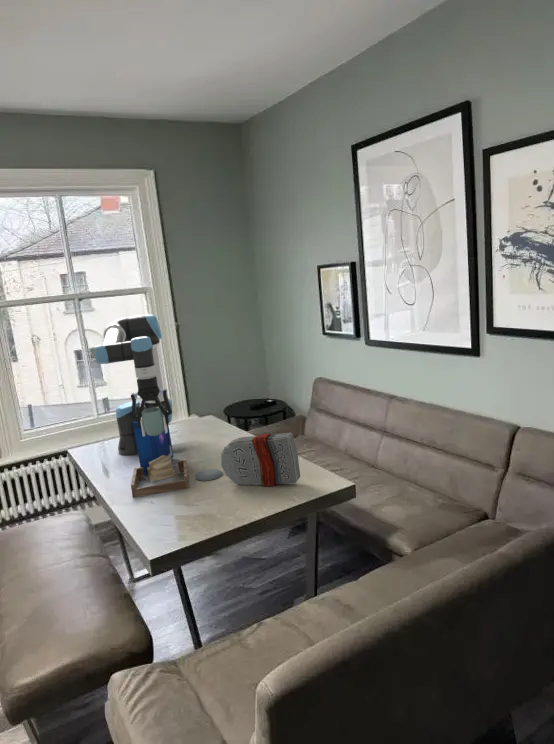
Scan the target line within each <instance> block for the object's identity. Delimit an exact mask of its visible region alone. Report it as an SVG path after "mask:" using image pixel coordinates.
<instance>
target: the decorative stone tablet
mask: <svg viewBox="0 0 554 744" xmlns="http://www.w3.org/2000/svg"><path fill="white" fill-rule="evenodd" d="M295 442H296V441H295V438H294V434H293V433H292V432H285V433H275V434H272V433H262V434H261V433H260V434H258V435H257V434H256V435H253V436H241V437H238V438H234V439H232V440H231V441H230V442H229V443H228V444H227V445H226V446H224V448H223V450H222V452H221V454H220V455H221V456H220V466H221V468H222V471H223V472H224V474H225V476H226V477H227V478H228V479H229V480H230V481H232V482H233V483H234V484H236V485H237V484H238V485H242V486H246V487H249V486H263V487H270V486H272V487H273V486H275V485H276V486H277V485H282V484H283V485H284V484H296V483H297V482H298V481H299V479H300V478H301V470H300V461H299V455H298V451H297V445H296V443H295ZM276 486H275V487H276Z"/></svg>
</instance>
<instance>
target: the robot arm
mask: <svg viewBox="0 0 554 744" xmlns="http://www.w3.org/2000/svg"><path fill="white" fill-rule="evenodd" d="M102 335H103V343H102V344H99V345H95V346H94V351H93V352H94V357H95V362H96V363H97V364H99V365H107V364H114V363H120V362H129V361H133V363H134V371H135V377H136V384H137V392H135V393H134V392H132V393H131V394H130V398H131V401H128V402H125V403H122V404H120V405H118V406H117V407H116V408H115V419H116V422H117V428H118V434H119V439H118V440H119V441H118V445H117V451H118V454H119V455H121V454H123V456H131V455H136V454H137V455H138V451H137V445H136V440H135V434H134V429H133V422H134V421H135V420H137V421H138V427H139V428H141V429H142V435H143V436H145V429H144V426H143V421H142V419H141V415H142V411H143V410H145V409H148V408H151V407H159V408H160V410H161V411H162V413H163V414H164V416H163V422H164V429H165V433H167V432H168V430H167V424H168V425H169V424H171V422H172V421H173V401H172V399H171V398H169V395H168V390H167V389H166V388H164V383H163V377H162V371H161V365H160V357H159V351H158V345H159V344H160V343H161V342H160V339H162V338H163V334H162V332H161V328H160V324H159V321H158V318H157V316H156V314H141V315H134V316H128V317H127V316H125V317H121V318H118V319H115V320H113V321H111V322H110V323H109V324H108V325H107V326H106V327H105V328H104V330H103V334H102ZM138 397H139V398H140V399H141V402H140V401H139V400H137V399H138ZM164 406H165V407H166V409H165V408H164Z"/></svg>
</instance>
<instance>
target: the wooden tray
mask: <svg viewBox="0 0 554 744" xmlns="http://www.w3.org/2000/svg"><path fill="white" fill-rule="evenodd" d="M177 467H178V469H177V470H178V474H183V477H184V480H177V481H176V480H175V481H171V482H163V483H160V484H159V483H158V484H154V485H153V484H152V485H147V486H146V485H145V486H142V487H138V486H139V482H140V481H143V480H145V479H146V477H145V476H146V475H144V470H143V467H135V468H133V472H132V477H131V482H130V488H131V495H132V498H137V497H138V498H139V497H143V496H149V495H155V494H161V493H166V492H167V493H168V492H171V491H172V492H173V491H178V490H183V489H189V488H190V482H189V480H190V479H189V471H188V470H189V469H188V463H187V459H183V460H178V461H177Z"/></svg>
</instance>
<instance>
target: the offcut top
mask: <svg viewBox="0 0 554 744" xmlns="http://www.w3.org/2000/svg"><path fill="white" fill-rule="evenodd" d="M170 462H171V463H172V459H171V457H170V456H165V455H162V456H160V457H158V458H156V459H155V460H153V461H151V462H149V467H150V469H159V468H161V467H163V466H165V465H167V464H169V463H170Z"/></svg>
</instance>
